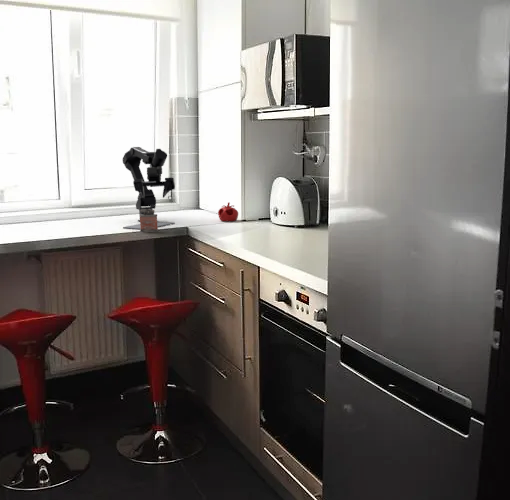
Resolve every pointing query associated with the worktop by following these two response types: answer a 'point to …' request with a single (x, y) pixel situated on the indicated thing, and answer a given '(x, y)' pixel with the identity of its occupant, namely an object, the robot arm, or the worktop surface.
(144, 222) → the lighter
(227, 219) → the pomegranate
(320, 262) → the worktop surface
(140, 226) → the mat
